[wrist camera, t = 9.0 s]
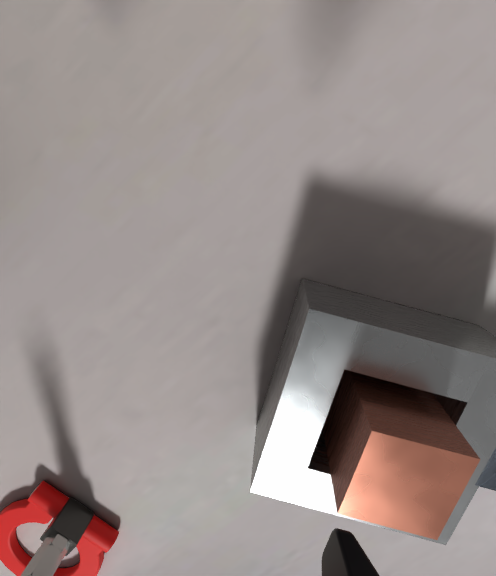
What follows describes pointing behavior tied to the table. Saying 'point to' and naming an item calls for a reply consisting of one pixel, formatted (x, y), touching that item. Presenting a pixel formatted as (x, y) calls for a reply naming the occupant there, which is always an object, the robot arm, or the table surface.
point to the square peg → (395, 455)
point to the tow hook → (54, 535)
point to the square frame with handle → (376, 363)
